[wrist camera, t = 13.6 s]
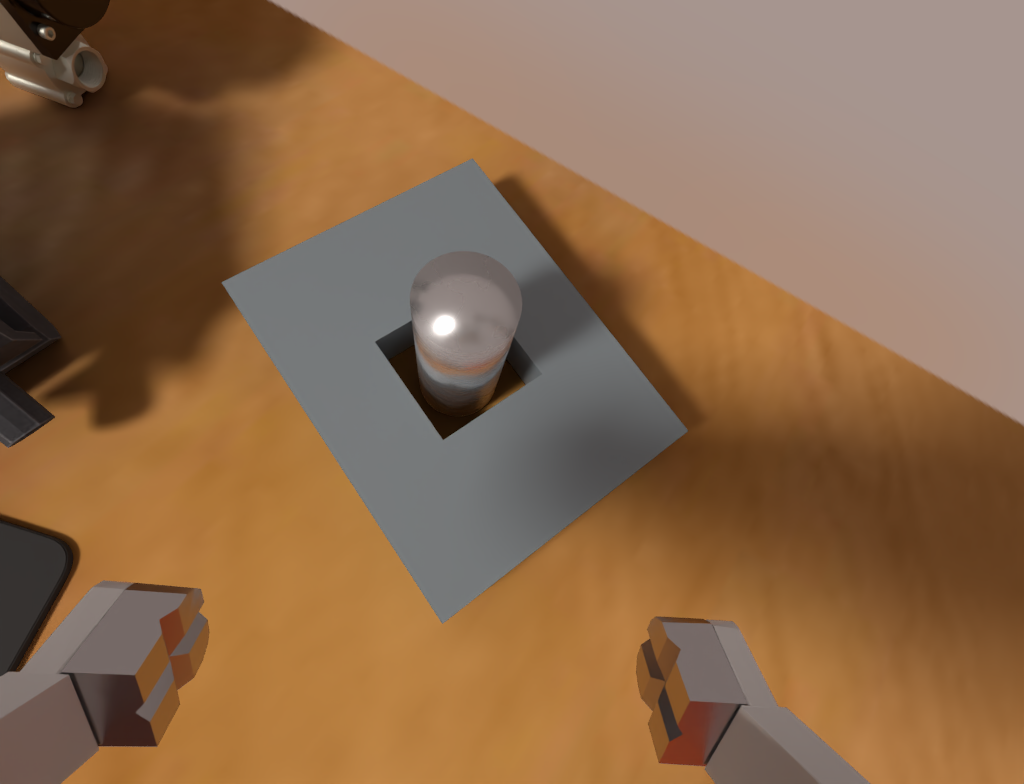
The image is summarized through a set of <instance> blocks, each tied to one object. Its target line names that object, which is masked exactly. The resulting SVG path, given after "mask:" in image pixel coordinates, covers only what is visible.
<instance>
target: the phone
mask: <svg viewBox="0 0 1024 784" xmlns="http://www.w3.org/2000/svg"><path fill="white" fill-rule="evenodd" d="M72 563H73V554H72V551H71V549H70V547H69V546H68V545H67V544H66V543H65V542H64V541H62V540H60V539H58V538H56V537H53V536H50V535H47V534H43V533H40V532H37V531H34V530H31V529H28V528H25V527H22V526H18V525H15V524H12V523H9V522H6V521H2V520H0V676H2V675H4V674H6V673H7V672H15V671H16V669H17V667H18V665H19V663H20V662H21V660H22V658H23V656H24V655H25V653H26V651H27V649H28V647H29V646H30V644H31V642H32V640H33V638H34V637H35V635H36V633H37V631H38V629H39V628H40V626H41V624H42V622H43V620H44V619H45V617H46V615H47V613H48V611H49V610H50V608H51V606H52V604H53V603H54V601H55V599H56V597H57V595H58V594H59V592H60V590H61V588H62V586H63V584H64V583H65V581H66V579H67V577H68V575H69V573H70V570H71V567H72Z"/></svg>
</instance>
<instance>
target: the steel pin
mask: <svg viewBox="0 0 1024 784" xmlns="http://www.w3.org/2000/svg"><path fill="white" fill-rule="evenodd" d="M410 309H411V317H412V325H413V334H414V342H415V350H416V359H417V367H418V375H419V384H420V389H421V392H422V394H423V396H424V398H425V400H426V401H427V402H428V404H429V405H430V406H432V407H433V408H434V409H435V410H437V411H439V412H440V413H443V414H445V415H449V416H456V417H461V416H467V415H471V414H473V413H476V412H478V411H479V410H481V409H482V408H483V407H485V406H486V405H487V404H488V402H489V401H490V399H491V398H492V396H493V394H494V391H495V388H496V385H497V382H498V380H499V377H500V374H501V371H502V368H503V365H504V362H505V360H506V357H507V354H508V351H509V348H510V345H511V342H512V340H513V337H514V334H515V331H516V328H517V325H518V322H519V320H520V316H521V312H522V296H521V291H520V289H519V286H518V284H517V282H516V280H515V278H514V277H513V275H512V274H511V273H510V271H509V270H508V269H507V268H506V267H505V266H503V265H502V264H501V263H500V262H498V261H497V260H495V259H493V258H491V257H489V256H487V255H484V254H481V253H477V252H471V251H456V252H450V253H446V254H443V255H441V256H439V257H436V258H435V259H433V260H431V261H430V262H429V263H427V264H426V265H425V266H424V267H423V268H422V269H421V270H420V271H419V273H418V274H417V276H416V277H415V279H414V282H413V284H412V287H411V292H410Z"/></svg>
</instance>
